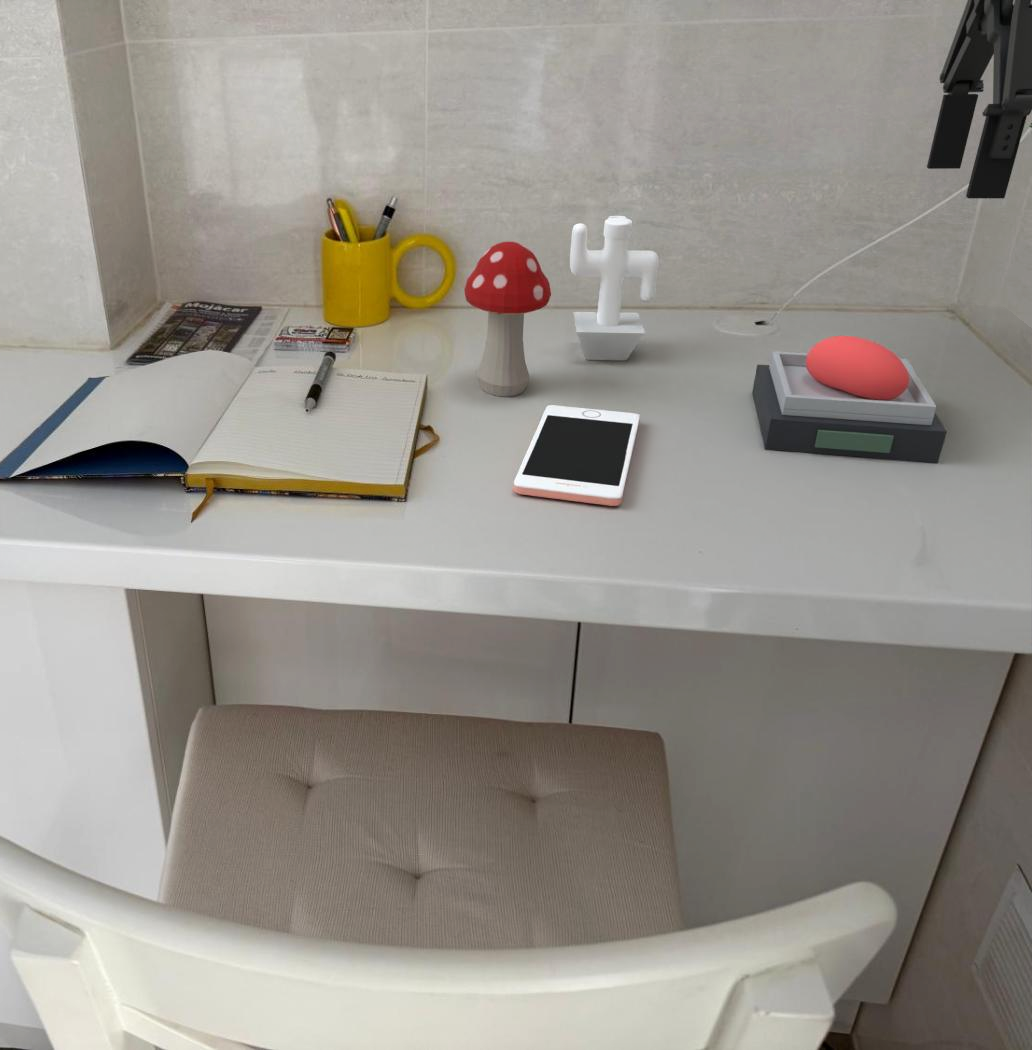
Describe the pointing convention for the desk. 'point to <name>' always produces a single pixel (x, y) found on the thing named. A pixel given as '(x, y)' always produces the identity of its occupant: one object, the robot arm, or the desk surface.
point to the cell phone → (579, 455)
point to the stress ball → (858, 367)
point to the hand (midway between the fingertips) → (962, 182)
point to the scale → (843, 415)
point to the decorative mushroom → (506, 312)
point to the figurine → (611, 289)
